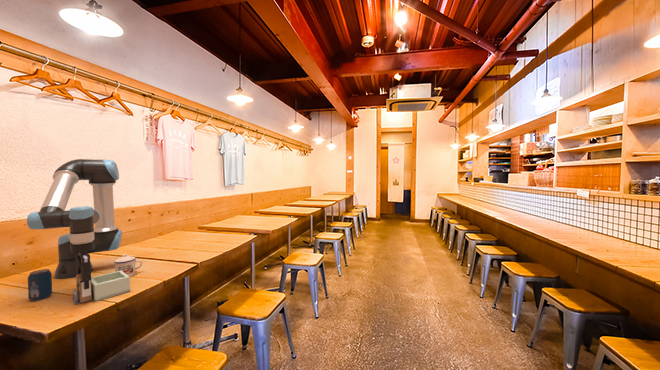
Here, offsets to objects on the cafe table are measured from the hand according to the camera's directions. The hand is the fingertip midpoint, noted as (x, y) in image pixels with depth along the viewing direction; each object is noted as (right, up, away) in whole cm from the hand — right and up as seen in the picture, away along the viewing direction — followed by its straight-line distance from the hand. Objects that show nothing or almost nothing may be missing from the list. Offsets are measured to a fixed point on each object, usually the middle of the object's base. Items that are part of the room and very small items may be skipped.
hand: (84, 292), depth 109 cm
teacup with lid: (-3, -3, +28) cm, 29 cm away
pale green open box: (+5, -3, +7) cm, 9 cm away
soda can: (-21, -3, +2) cm, 22 cm away
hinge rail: (0, -3, 0) cm, 3 cm away
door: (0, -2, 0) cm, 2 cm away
